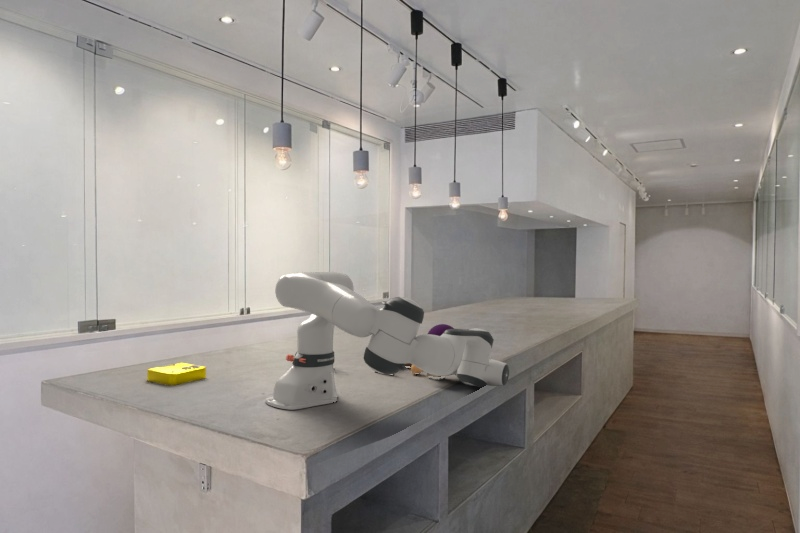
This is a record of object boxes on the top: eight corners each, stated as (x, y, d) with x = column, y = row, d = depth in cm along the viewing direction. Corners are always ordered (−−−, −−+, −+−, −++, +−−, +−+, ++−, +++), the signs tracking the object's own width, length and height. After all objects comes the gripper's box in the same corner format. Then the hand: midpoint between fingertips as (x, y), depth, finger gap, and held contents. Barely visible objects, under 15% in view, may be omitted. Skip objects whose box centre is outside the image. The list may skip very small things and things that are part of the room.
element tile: (181, 373, 201) (181, 360, 201) (208, 378, 193) (208, 365, 193) (144, 381, 188) (144, 367, 188) (171, 387, 180) (171, 373, 180)
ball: (417, 376, 198) (417, 364, 198) (408, 374, 201) (408, 362, 201) (425, 374, 201) (425, 362, 201) (415, 372, 204) (415, 361, 204)
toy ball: (421, 360, 229) (421, 325, 229) (429, 354, 243) (430, 321, 243) (456, 362, 225) (456, 327, 224) (462, 356, 239) (463, 323, 239)
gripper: (448, 382, 179) (416, 376, 188) (481, 372, 195) (450, 367, 204) (448, 363, 179) (416, 358, 188) (481, 355, 194) (450, 350, 203)
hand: (434, 362), depth 196 cm, fingers closed on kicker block, 4 cm apart
